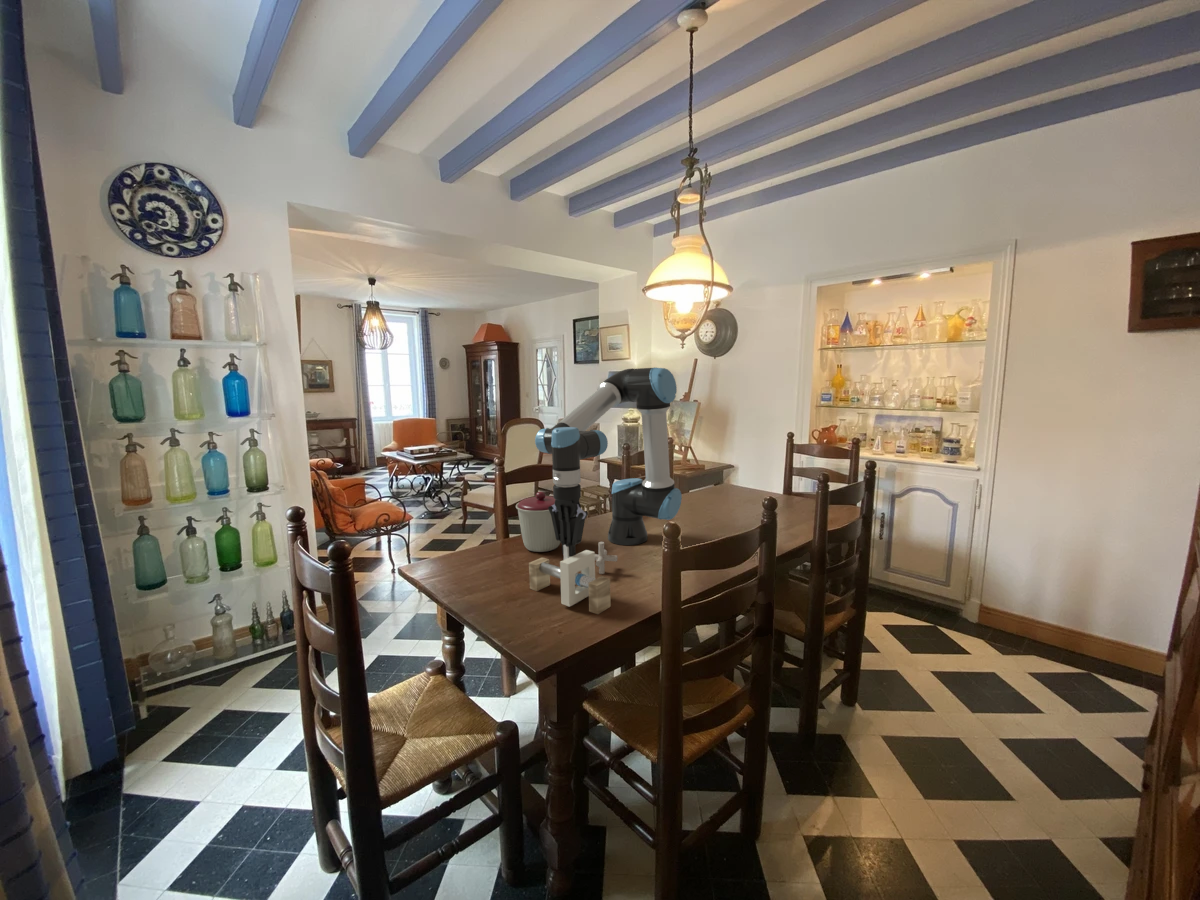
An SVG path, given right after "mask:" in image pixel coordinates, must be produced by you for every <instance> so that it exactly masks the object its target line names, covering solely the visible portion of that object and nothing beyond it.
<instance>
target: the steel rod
mask: <svg viewBox="0 0 1200 900" xmlns="http://www.w3.org/2000/svg"><path fill="white" fill-rule="evenodd" d="M539 570H540V572H542V573H545V574H548V575H550V577H554V578H556V579H559V580H561V578H560V566H557V565H554V564H550V563H549V564H548V563H545V562H543V563H541V564H540V567H539ZM595 579H596V577H595V578H592V577H589V576H586V575H584V574H581V572H580V573H579V572H577V573H575V586H581V587H586V588H588V589H589V584H588V583H589V582H591V581H593V580H595Z"/></svg>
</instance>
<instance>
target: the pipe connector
mask: <svg viewBox="0 0 1200 900" xmlns="http://www.w3.org/2000/svg"><path fill="white" fill-rule="evenodd" d="M597 545H598V554H597V553H595V561H596V562H595V567H598V573H599V574H600V575H604V574H605V570H606V569H605V566H606V565H605V562H618V555H615V554H614V555H613V554H608V550H607V549H605V542H604V541H598V544H597Z"/></svg>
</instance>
